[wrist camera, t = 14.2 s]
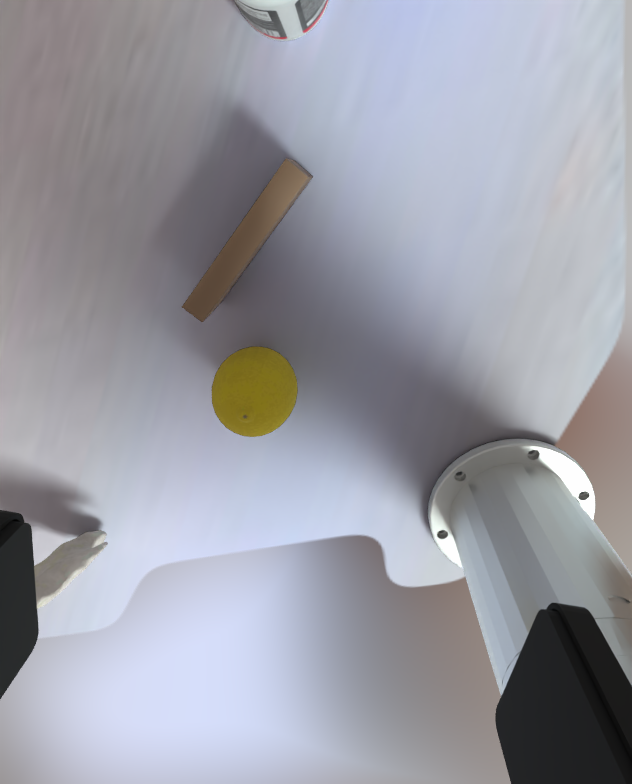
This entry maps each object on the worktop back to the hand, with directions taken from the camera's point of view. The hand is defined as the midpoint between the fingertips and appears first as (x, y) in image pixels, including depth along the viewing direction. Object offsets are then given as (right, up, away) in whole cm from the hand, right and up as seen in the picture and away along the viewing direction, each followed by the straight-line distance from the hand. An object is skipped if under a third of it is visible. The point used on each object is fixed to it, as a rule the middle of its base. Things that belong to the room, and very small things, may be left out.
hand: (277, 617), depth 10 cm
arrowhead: (-19, -8, +35) cm, 41 cm away
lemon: (-3, +6, +28) cm, 29 cm away
